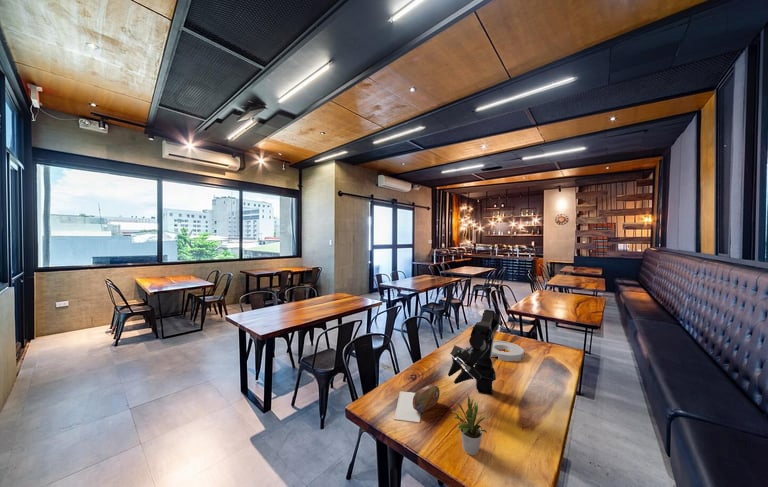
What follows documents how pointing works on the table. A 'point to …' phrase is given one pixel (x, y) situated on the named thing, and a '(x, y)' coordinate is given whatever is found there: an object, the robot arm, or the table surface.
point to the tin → (426, 398)
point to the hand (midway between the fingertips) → (451, 379)
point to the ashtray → (513, 355)
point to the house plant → (470, 428)
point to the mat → (406, 408)
